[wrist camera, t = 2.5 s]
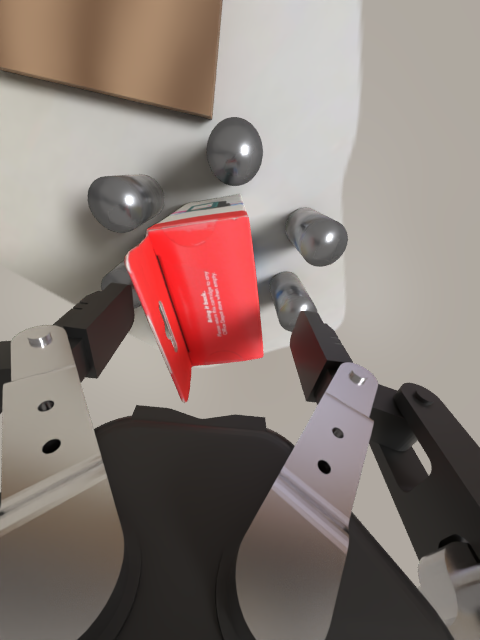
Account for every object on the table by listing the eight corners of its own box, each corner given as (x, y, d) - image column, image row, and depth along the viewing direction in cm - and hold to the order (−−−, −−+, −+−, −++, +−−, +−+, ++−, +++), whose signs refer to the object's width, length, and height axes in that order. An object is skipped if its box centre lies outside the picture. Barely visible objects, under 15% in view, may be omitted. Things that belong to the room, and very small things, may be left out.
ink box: (253, 283, 24) (273, 400, 12) (206, 290, 25) (180, 411, 12) (242, 191, 20) (256, 227, 7) (185, 200, 20) (108, 250, 8)
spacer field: (134, 310, 26) (110, 345, 21) (118, 104, 17) (68, 77, 12) (284, 330, 28) (295, 366, 23) (344, 156, 19) (385, 152, 14)
